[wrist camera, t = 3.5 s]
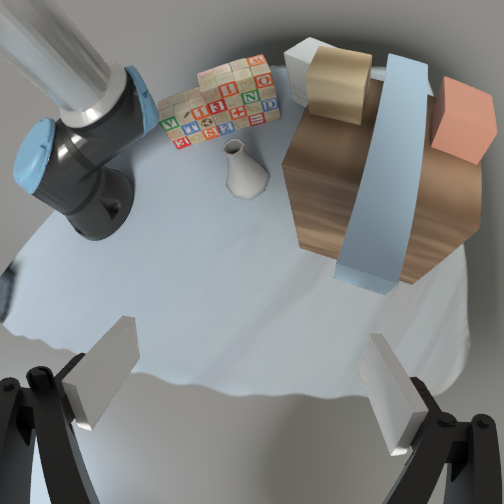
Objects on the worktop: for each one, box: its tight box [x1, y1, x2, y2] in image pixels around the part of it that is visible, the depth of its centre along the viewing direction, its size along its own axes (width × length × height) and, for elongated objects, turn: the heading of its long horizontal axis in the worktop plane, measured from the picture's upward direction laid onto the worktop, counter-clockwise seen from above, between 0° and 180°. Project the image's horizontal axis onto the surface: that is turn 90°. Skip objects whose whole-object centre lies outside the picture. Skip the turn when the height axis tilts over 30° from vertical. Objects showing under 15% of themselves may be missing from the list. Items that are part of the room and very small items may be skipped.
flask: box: [222, 138, 270, 200], centre depth 47 cm, size 7×7×10 cm
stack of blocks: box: [158, 55, 281, 149], centre depth 51 cm, size 21×6×12 cm, turn 101°
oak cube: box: [305, 46, 372, 125], centre depth 24 cm, size 5×5×5 cm
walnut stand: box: [282, 78, 482, 285], centre depth 34 cm, size 14×18×22 cm
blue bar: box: [334, 54, 428, 295], centre depth 21 cm, size 22×4×4 cm, turn 157°
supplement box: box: [284, 37, 336, 108], centre depth 48 cm, size 7×7×13 cm
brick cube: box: [431, 76, 497, 165], centre depth 20 cm, size 5×5×5 cm
